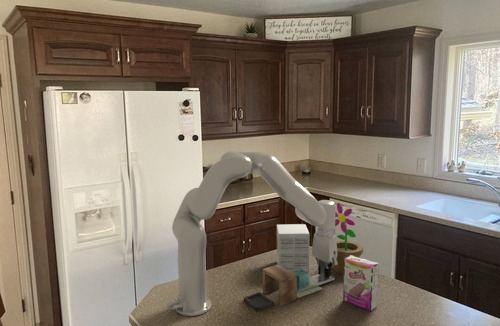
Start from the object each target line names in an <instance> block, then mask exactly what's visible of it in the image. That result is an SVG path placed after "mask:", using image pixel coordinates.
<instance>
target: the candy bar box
mask: <svg viewBox="0 0 500 326" xmlns="http://www.w3.org/2000/svg"><path fill="white" fill-rule="evenodd" d="M379 268H380V263H379V262H375V261H372V260H368V259H364V258H362V257H360V258H359V257H355V256H352V255H350V256H348V257H347V258H345V259H344V274H343V293H342V295H343V298H342V301H343V302H345V303H348V304H351V305H353V306H356V307H359V308H361V309H365V310H366V311H368V312H369V311H370V312H372V311H373V310H375V308H377V306H378V292H379V272H380V271H379Z"/></svg>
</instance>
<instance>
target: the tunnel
mask: <svg viewBox="0 0 500 326" xmlns="http://www.w3.org/2000/svg"><path fill="white" fill-rule="evenodd" d="M275 291H279V292H278V293H279V296H278V297H279V299H278V300H279V301H278V302H279V303H278V304H279V305H280V306H283V305H285V304H288V303H293V302H294V301H297V298H298V297H297V275H296V274H294V273H292V272H290V271H288V270H287V269H285V268H283V267H281V266H279V265H278V264H275V265H271V266H268V267H265V268H262V294H263V295H266V294H269V293H272V292H275Z"/></svg>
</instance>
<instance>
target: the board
mask: <svg viewBox="0 0 500 326" xmlns="http://www.w3.org/2000/svg"><path fill="white" fill-rule="evenodd" d="M321 290H323V288H322V287H321V286H320V285H318V286H315V287H313V288H310V289H307V290H304V291H301V292H297V298H298V299H299V298H301V297H305V296H307V295H310V294H312V293H316V292H318V291H321Z"/></svg>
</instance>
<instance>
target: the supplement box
mask: <svg viewBox="0 0 500 326" xmlns="http://www.w3.org/2000/svg"><path fill="white" fill-rule="evenodd" d="M307 227H308V226H307V225H306V224H304V223H300V224H299V223H297V224H296V223H295V224H294V223H293V224H291V223H290V224H287V223H286V224H276V263H277V264H276V265H279V266H281V267H283V268H285V269H287V270H288V271H290V272H292V271H295V270H298V269H302V270H304V271H306V272H308V273H309V274H310V232H309V229H308V228H307Z"/></svg>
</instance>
